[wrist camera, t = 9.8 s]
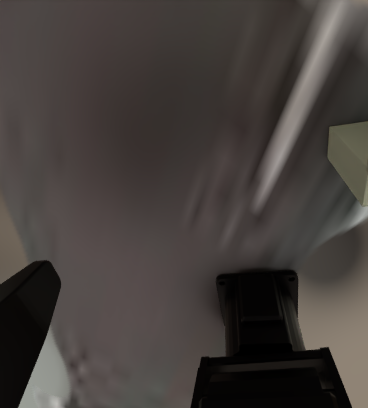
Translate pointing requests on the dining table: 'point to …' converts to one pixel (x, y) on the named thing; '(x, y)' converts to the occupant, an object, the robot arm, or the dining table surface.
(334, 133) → the grey block
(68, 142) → the dining table surface
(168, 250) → the dining table surface
